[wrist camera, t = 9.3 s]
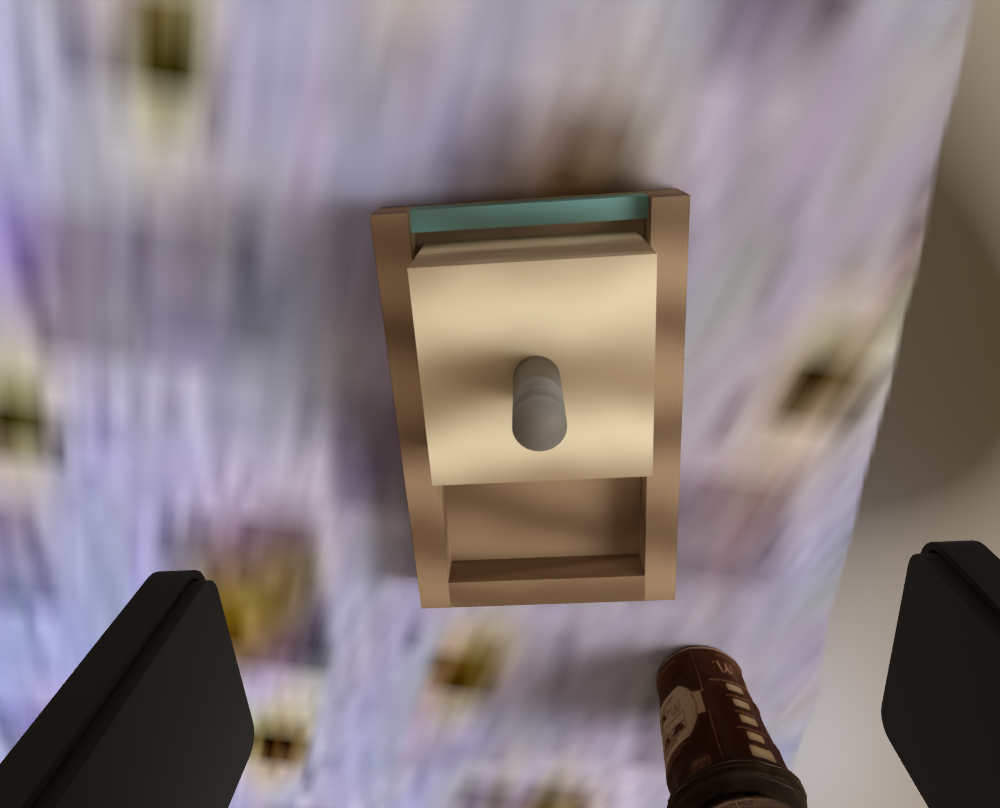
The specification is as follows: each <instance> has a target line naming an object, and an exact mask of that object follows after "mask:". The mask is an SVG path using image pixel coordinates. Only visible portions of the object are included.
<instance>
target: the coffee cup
mask: <svg viewBox="0 0 1000 808" xmlns="http://www.w3.org/2000/svg"><path fill="white" fill-rule="evenodd" d="M657 690H658V694H659V699H660V726H661V734H662V742H663V751H664V760H665V768H666V781H667V786H668V789H669V792H670V794H671V795H670V798H669V800H668V805H667V808H807V795H806V793H805V790H804V788H803V786H802V784H801V781H800V780H799V778H798V777H796V776H795V775H794V774H793V773H792V772H791V771H789V770H788V769H787V767H786V765H785V763H784V761H783V758H782V756H781V753H780V751H779V750H778V748H777V747H776V746H775V744H774V743H773V741H772V739H771V738H770V735H769V734H768V732H767V729H766V728H765V726H764V724H763V722H762V719H761V716H760V711H759V709H758V707H757V706H756V705H755V703H754V702H753V700H752V698H751V696H750V694H749V693H748V691H747V687H746V684H745V682H744V680H743V677H742V671H741V668H740V667H739V665H738V664H737V663H736V661H735V660H734V659H732V658H731V657H730V656H728V655H727V654H725V653H724V652H722V651H720V650H718V649H715V648H711V647H703V646H698V647H688V648H685V649H683V650H681V651H679V652H677V653H675V654H673V655H671V656H670V657H669V658H668V659H667V660H666V661H665V662H664V663H663V664H662V666H661V668H660V671H659V673H658V675H657Z"/></svg>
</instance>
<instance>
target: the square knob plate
mask: <svg viewBox="0 0 1000 808" xmlns="http://www.w3.org/2000/svg"><path fill="white" fill-rule="evenodd" d="M407 271H408V279H409V288H410V297H411V305H412V314H413V323H414V331H415V340H416V349H417V357H418V366H419V375H420V383H421V392H422V401H423V409H424V418H425V427H426V435H427V444H428V453H429V461H430V470H431V479H432V486H439V485H462V484H485V483H508V482H530V481H553V480H576V479H599V478H622V477H645V476H653V432H654V384H655V336H656V289H657V253H656V252H655V251H654V250H653V249H652V248H651V247H650V245H649V244H648V243H647V242H646V241H645V240H644V239H643V238H642V237H641V236H640V235H639V234H638V233H637V232H636V231H635V230H631V231H615V232H598V233H582V234H566V235H549V236H533V237H516V238H500V239H483V240H467V241H450V242H434V243H425V244H424V246H423V247H422V248H421V250H420V251H419V253H418V254H417V255H416V257H415V258H414V260H413V261H412V262H411V264H410V265H409V267H408V268H407Z"/></svg>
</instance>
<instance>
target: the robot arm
mask: <svg viewBox="0 0 1000 808" xmlns="http://www.w3.org/2000/svg"><path fill="white" fill-rule="evenodd" d="M881 715H882V722H883V726H884V729H885V732H886V735H887V737H888V738H889V740H890V742H891V744H892V746H893V747H894V749H895V751H896V752H897V754H898V756H899V758H900V759H901V761H902V763H903V765H904V766H905V768H906V770H907V771H908V773H909V775H910V777H911V778H912V780H913V782H914V783H915V785H916V787H917V789H918V790H919V792H920V794H921V795H922V797H923V799H924V801H925V802H926V804H927V806H928V807H929V808H1000V559H999V558H998V557H997V556H995V555H994V554H993V553H992V552H991V551H990V550H989V549H988V548H987V547H986V546H985V545H983V544H982V543H980V542H978V541H972V540H971V541H945V542H930V543H927V544H926V545H925V546H924V547H923V549H922V551H921V554H915V555H913V556H912V557H911V558H910V561H909V564H908V568H907V574H906V579H905V584H904V590H903V595H902V601H901V606H900V611H899V616H898V622H897V627H896V632H895V638H894V643H893V648H892V654H891V659H890V664H889V669H888V675H887V680H886V686H885V691H884V696H883V701H882V708H881ZM253 741H254V725H253V721H252V717H251V713H250V709H249V705H248V702H247V698H246V694H245V690H244V687H243V683H242V679H241V675H240V671H239V668H238V664H237V660H236V656H235V653H234V649H233V645H232V641H231V638H230V634H229V630H228V626H227V622H226V619H225V615H224V611H223V607H222V604H221V600H220V596H219V592H218V589H217V586H216V584H215V583H214V582H213V581H211V580H205V578H204V576H203V575H202V573H201V572H200V571H197V570H187V571H160V572H155V573H153V574H152V575H150V576H149V577H148V578H147V580H146V581H145V582H144V583H143V585H142V586H141V587H140V588H139V590H138V591H137V592H136V593H135V595H134V596H133V597H132V599H131V600H130V601H129V602H128V604H127V605H126V606H125V607H124V609H123V610H122V611H121V612H120V614H119V615H118V616H117V617H116V619H115V620H114V621H113V622H112V624H111V625H110V626H109V628H108V629H107V630H106V631H105V633H104V634H103V635H102V636H101V638H100V639H99V640H98V641H97V643H96V644H95V645H94V646H93V648H92V649H91V650H90V651H89V653H88V654H87V655H86V656H85V658H84V659H83V660H82V662H81V663H80V664H79V665H78V667H77V668H76V669H75V670H74V672H73V673H72V674H71V675H70V677H69V678H68V679H67V680H66V682H65V683H64V684H63V685H62V687H61V688H60V689H59V690H58V692H57V693H56V694H55V696H54V697H53V698H52V699H51V701H50V702H49V703H48V704H47V706H46V707H45V708H44V709H43V711H42V712H41V713H40V714H39V716H38V717H37V718H36V719H35V721H34V722H33V723H32V725H31V726H30V727H29V728H28V730H27V731H26V732H25V733H24V735H23V736H22V737H21V738H20V740H19V741H18V742H17V743H16V745H15V746H14V747H13V748H12V750H11V751H10V752H9V753H8V755H7V756H6V757H5V759H4V760H3V761H2V762H1V764H0V808H228V807H229V804H230V802H231V799H232V797H233V795H234V792H235V790H236V787H237V785H238V783H239V780H240V778H241V775H242V773H243V771H244V768H245V766H246V763H247V761H248V759H249V756H250V754H251V751H252V747H253Z"/></svg>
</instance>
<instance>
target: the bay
mask: <svg viewBox="0 0 1000 808" xmlns="http://www.w3.org/2000/svg"><path fill="white" fill-rule="evenodd" d="M689 213H690V195H689V194H687V193H685V192H683V191H681V190H679V189H665V190H649V191H634V192H618V193H602V194H586V195H571V196H555V197H539V198H523V199H508V200H492V201H476V202H460V203H445V204H429V205H413V206H397V207H382V208H380V209H378V210H377V211H375V212H374V213H373V214H371V215H370V221H371V229H372V237H373V244H374V252H375V259H376V267H377V274H378V282H379V290H380V297H381V305H382V312H383V320H384V328H385V335H386V343H387V350H388V358H389V365H390V373H391V381H392V388H393V396H394V403H395V411H396V418H397V426H398V434H399V441H400V449H401V456H402V464H403V472H404V479H405V487H406V494H407V502H408V509H409V517H410V525H411V532H412V540H413V547H414V555H415V563H416V570H417V578H418V585H419V593H420V600H421V608H447V607H476V606H504V605H533V604H562V603H590V602H619V601H648V600H675V586H676V559H677V533H678V506H679V479H680V453H681V426H682V399H683V373H684V346H685V319H686V293H687V266H688V240H689ZM631 230H635V231H636V232H637V233H638V234H639V235H640V236H641V237H642V238H643V239H644V240H645V241H646V242H647V243H648V244H649V245H650V247H651V248H652V249H653V250H654V251H655V252H656V253H657V289H656V336H655V384H654V432H653V476H645V477H622V478H599V479H576V480H553V481H530V482H508V483H485V484H462V485H439V486H432V479H431V470H430V461H429V453H428V444H427V435H426V427H425V418H424V409H423V401H422V392H421V383H420V375H419V366H418V357H417V349H416V340H415V331H414V323H413V314H412V305H411V297H410V288H409V279H408V271H407V268H408V267H409V265H410V264H411V262H412V261H413V260H414V258H415V257H416V255H417V254H418V253H419V251H420V250H421V248H422V247H423V246H424V244H425V243H434V242H450V241H467V240H483V239H500V238H516V237H533V236H549V235H566V234H582V233H598V232H615V231H631Z"/></svg>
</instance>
